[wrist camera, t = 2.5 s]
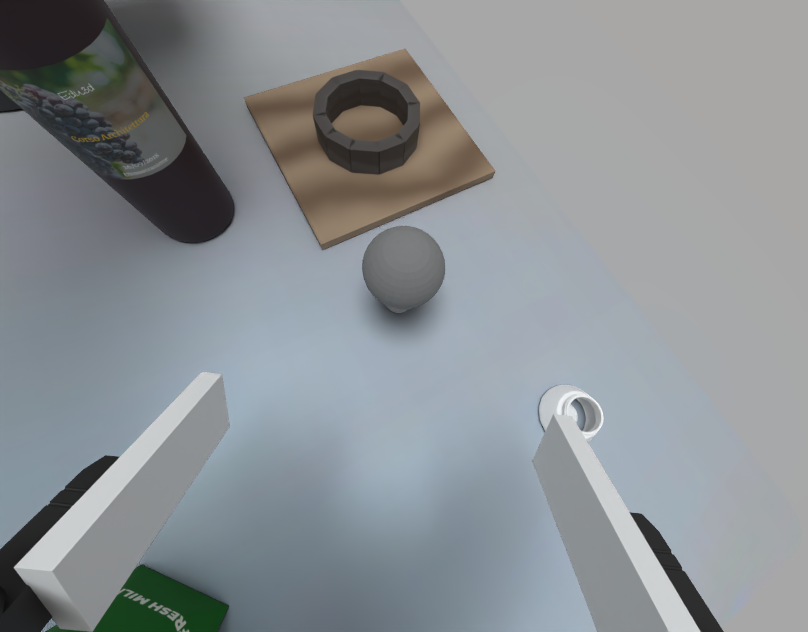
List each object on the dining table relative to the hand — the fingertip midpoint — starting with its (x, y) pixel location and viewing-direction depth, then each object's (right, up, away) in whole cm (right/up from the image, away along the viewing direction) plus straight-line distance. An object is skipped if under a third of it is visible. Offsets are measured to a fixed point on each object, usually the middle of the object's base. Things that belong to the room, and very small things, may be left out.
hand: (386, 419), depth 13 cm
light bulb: (0, +6, +17) cm, 18 cm away
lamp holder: (-3, +23, +23) cm, 33 cm away
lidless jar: (+15, -4, +16) cm, 22 cm away
